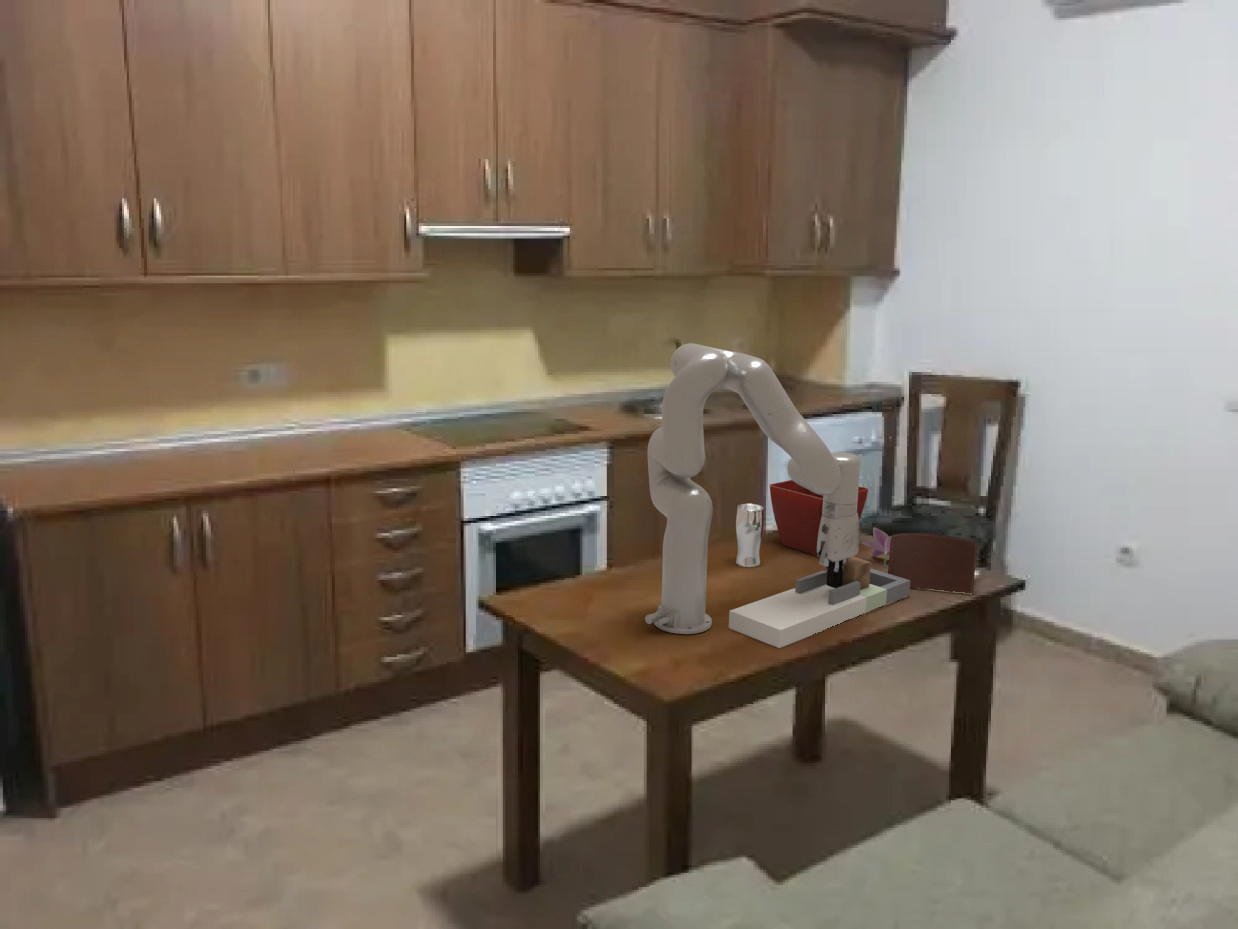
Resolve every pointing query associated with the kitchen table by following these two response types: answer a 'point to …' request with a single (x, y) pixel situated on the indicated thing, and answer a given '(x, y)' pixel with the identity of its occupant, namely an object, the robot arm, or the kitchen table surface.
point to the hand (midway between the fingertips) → (834, 586)
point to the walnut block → (857, 572)
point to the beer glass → (749, 534)
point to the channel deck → (814, 607)
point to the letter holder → (933, 561)
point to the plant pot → (801, 514)
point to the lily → (879, 543)
